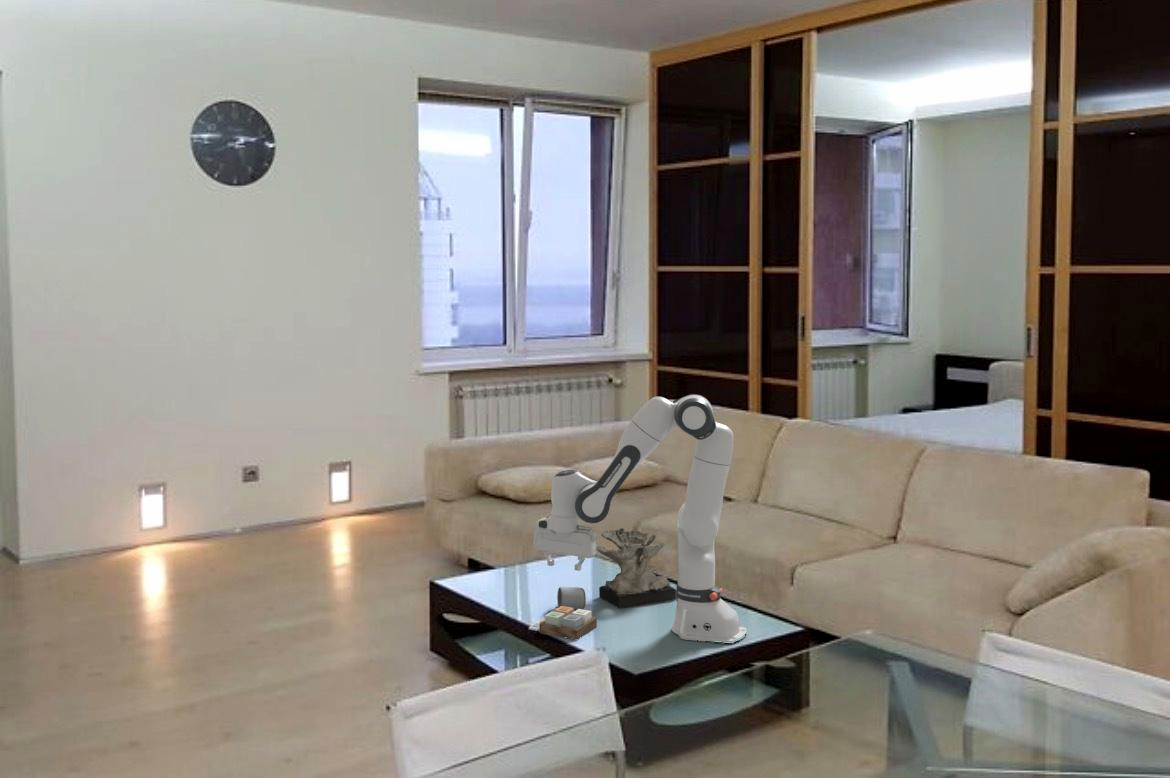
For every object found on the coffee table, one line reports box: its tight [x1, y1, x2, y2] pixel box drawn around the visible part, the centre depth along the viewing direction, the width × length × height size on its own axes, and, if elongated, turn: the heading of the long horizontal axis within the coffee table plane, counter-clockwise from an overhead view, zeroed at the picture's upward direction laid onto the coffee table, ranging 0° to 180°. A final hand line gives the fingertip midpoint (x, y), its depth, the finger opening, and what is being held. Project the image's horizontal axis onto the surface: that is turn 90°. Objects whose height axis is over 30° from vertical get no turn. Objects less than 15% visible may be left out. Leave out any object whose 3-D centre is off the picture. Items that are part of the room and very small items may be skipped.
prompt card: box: [528, 617, 545, 632], centre depth 354 cm, size 3×10×1 cm, turn 153°
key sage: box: [544, 610, 565, 626], centre depth 348 cm, size 4×4×4 cm
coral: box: [596, 527, 676, 609], centre depth 382 cm, size 25×20×22 cm
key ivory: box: [572, 609, 593, 623], centre depth 351 cm, size 4×4×4 cm
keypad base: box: [538, 616, 598, 640], centre depth 350 cm, size 13×13×3 cm
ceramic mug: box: [556, 586, 587, 611], centre depth 370 cm, size 11×8×8 cm
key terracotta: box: [554, 606, 574, 617], centre depth 354 cm, size 4×4×4 cm
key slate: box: [563, 614, 582, 629], centre depth 346 cm, size 4×4×4 cm
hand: (564, 567), depth 352 cm, fingers open, 8 cm apart
